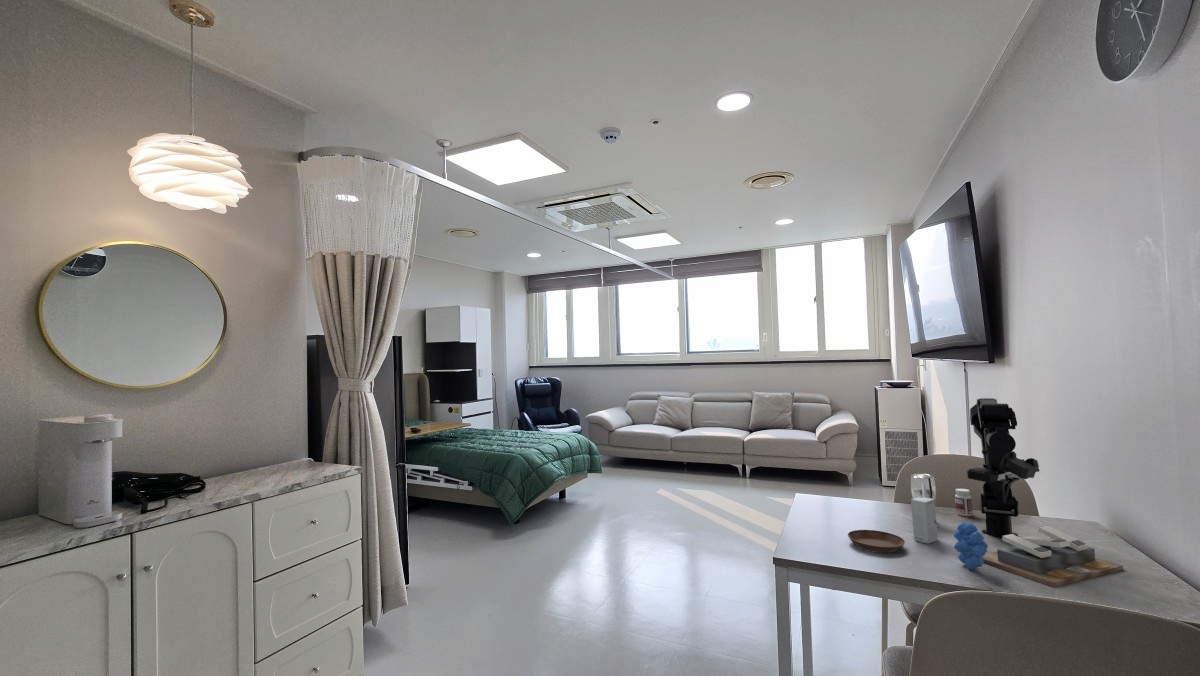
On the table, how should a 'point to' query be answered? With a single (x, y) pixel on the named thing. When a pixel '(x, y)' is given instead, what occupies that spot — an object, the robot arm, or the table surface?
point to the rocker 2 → (1063, 537)
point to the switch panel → (1051, 578)
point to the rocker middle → (1047, 541)
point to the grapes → (970, 545)
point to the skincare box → (924, 520)
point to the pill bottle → (963, 502)
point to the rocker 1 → (1027, 545)
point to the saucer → (876, 540)
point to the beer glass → (923, 486)
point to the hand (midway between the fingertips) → (1002, 502)
